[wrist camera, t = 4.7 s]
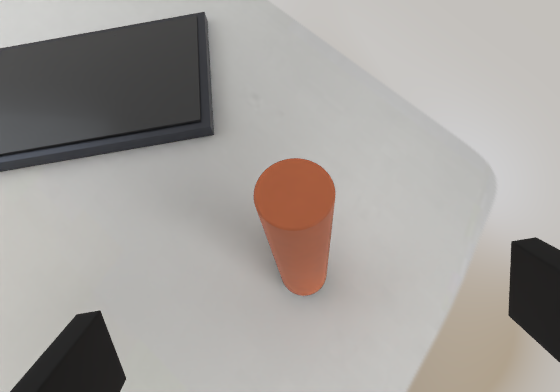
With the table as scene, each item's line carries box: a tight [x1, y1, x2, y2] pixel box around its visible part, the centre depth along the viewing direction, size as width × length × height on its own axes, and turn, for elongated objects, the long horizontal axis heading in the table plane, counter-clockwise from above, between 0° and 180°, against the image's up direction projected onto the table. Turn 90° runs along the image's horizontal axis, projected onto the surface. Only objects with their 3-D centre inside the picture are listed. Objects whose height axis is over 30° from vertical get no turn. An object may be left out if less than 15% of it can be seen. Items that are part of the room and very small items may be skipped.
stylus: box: [254, 158, 335, 296], centre depth 15 cm, size 3×3×11 cm
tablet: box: [0, 12, 214, 171], centre depth 29 cm, size 20×14×1 cm
